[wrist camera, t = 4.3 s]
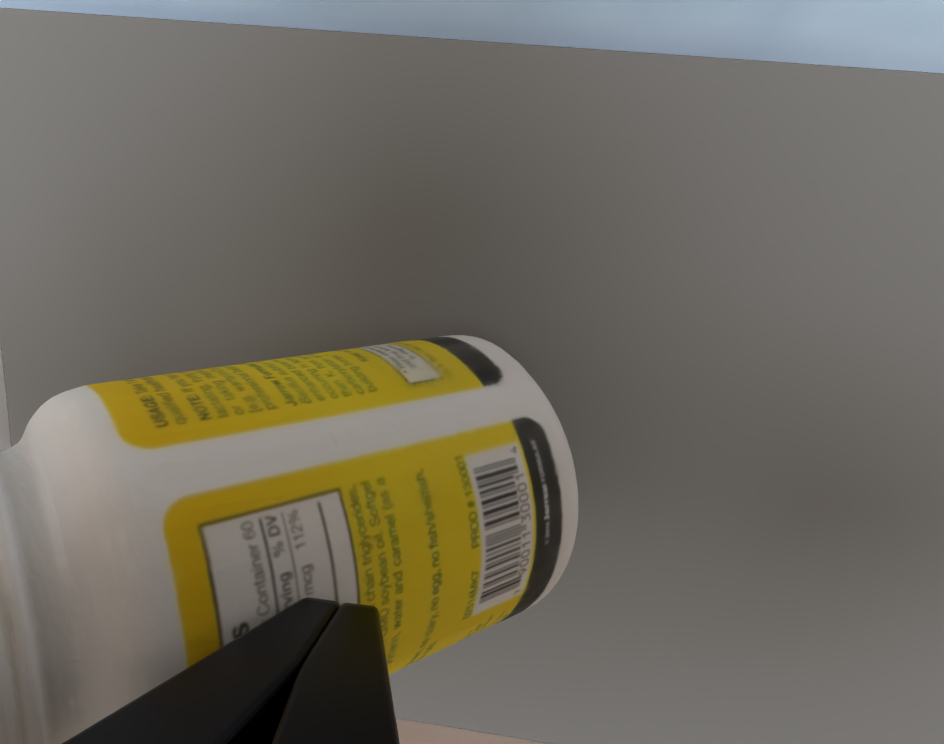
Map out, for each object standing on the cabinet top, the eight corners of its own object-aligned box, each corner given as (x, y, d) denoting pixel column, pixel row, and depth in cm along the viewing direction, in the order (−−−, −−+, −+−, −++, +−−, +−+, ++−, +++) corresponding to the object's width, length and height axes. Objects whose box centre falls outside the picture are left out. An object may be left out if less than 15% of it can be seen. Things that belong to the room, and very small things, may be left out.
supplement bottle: (382, 425, 15) (-145, 536, 10) (485, 273, 12) (-222, 319, 7) (486, 645, 13) (-98, 925, 8) (643, 537, 10) (-172, 890, 5)
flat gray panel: (1150, 90, 11) (1160, 88, 11) (920, 797, 15) (925, 806, 15) (-26, 7, 13) (-35, 5, 13) (39, 652, 17) (33, 657, 17)
